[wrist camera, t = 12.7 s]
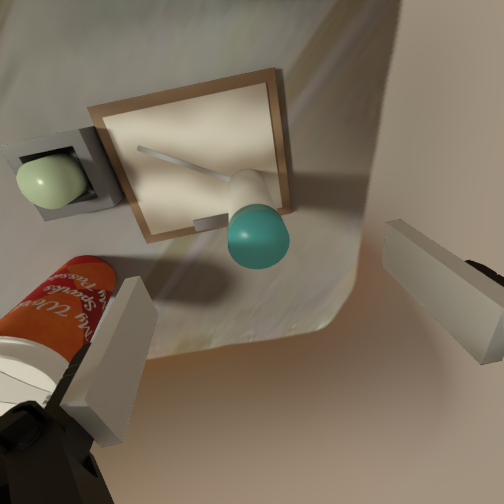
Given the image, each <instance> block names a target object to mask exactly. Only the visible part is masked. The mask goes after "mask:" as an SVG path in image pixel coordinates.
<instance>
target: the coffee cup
mask: <svg viewBox="0 0 504 504" xmlns="http://www.w3.org/2000/svg"><path fill="white" fill-rule="evenodd" d="M115 285H116V274H115V272H114V270H113V269H112V267H111V266H110V265H109V264H108V263H106V262H105V261H103V260H101V259H99V258H97V257H93V256H78V257H75V258H73V259H71V260H70V261H68V262H67V263H66V264H64V265H63V266H62V267H61V268H60V269H58V270H57V271H56V272H55V273H54V274H53V275H51V276H50V277H49V278H48V279H47V280H46V281H44V282H43V283H42V284H41V285H40V286H39V287H38V288H36V289H35V290H34V291H33V292H32V293H31V294H30V295H28V296H27V297H26V298H25V299H24V300H23V301H21V302H20V303H19V304H18V305H17V306H16V307H15V308H13V309H12V310H11V311H10V312H9V313H8V314H7V315H5V316H4V317H3V318H2V319H1V320H0V416H2V415H3V414H4V413H6V412H7V411H8V410H9V409H10V408H12V407H14V406H16V405H17V404H19V403H21V402H25V401H28V400H33V401H36V402H37V403H38V404H39V405H41V406H42V407H43V408H45V406H46V404H47V402H48V401H49V399H50V397H51V395H52V394H53V392H54V390H55V388H56V386H57V385H58V383H59V381H60V379H62V378H63V377H62V376H63V374H64V372H65V371H66V369H68V365H69V363H70V362H71V360H72V358H73V356H74V355H75V354H76V353H77V352H78V351H79V349H80V348H81V347H82V346H83V345H84V344H87V343H90V341H91V339H92V336H93V334H94V332H95V330H96V327H97V325H98V323H99V321H100V319H101V317H102V314H103V312H104V310H105V308H106V306H107V304H108V301H109V299H110V297H111V295H112V292H113V290H114V288H115Z"/></svg>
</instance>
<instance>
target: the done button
mask: <svg viewBox="0 0 504 504" xmlns="http://www.w3.org/2000/svg"><path fill="white" fill-rule="evenodd" d="M17 183H18V186H19V188H20V190H21V192H22V193H23V195H24V196H25V197H26V198H27V199H28V200H30V201H31V202H32V203H34V204H36V205H37V206H40V207H42V208H46V209H58V208H61V207H63V206H65V205H67V204H68V203H70V202H71V201H73V200H74V199H76V198H77V197H79V196H80V195H82V194H83V193H85V192H86V191H87V189H88V188H89V185H90V180H89V178H88V176H87V174H86V172H85V170H84V168H83V166H82V164H81V162H80V161H79V160H78V159H76V158H75V157H73V156H70V155H68V154H63V153H58V154H53V155H50V156H47V157H43V158H40V159H37V160H34V161H31V162H27V163H25V164H23V165H22V166H21V167H20V168H19V170H18V172H17Z"/></svg>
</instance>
